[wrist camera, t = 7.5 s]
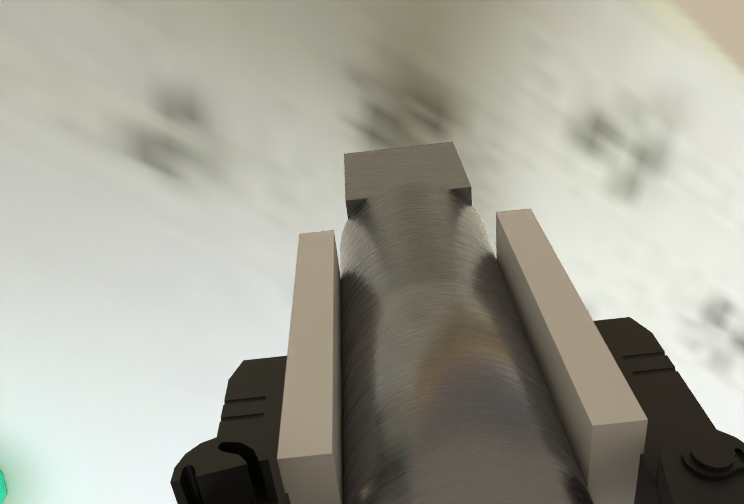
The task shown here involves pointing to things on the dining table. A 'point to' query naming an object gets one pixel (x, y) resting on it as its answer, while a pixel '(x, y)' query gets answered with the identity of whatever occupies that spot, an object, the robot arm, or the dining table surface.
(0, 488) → the candle
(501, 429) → the l-shaped bracket
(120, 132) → the dining table surface
